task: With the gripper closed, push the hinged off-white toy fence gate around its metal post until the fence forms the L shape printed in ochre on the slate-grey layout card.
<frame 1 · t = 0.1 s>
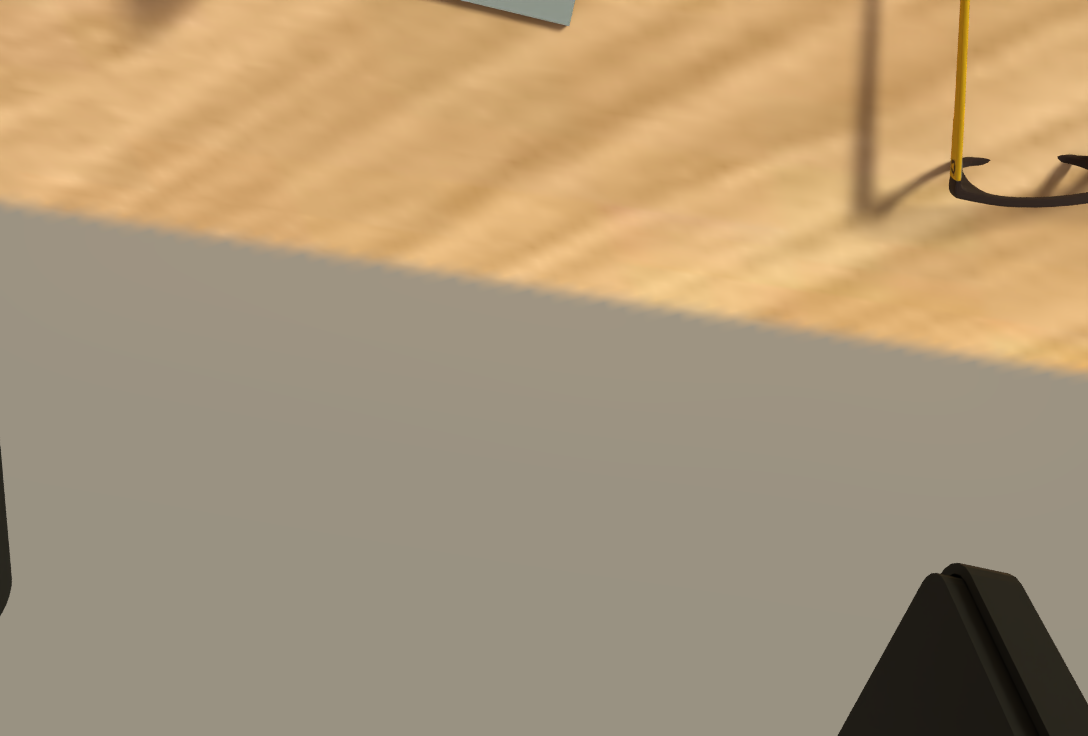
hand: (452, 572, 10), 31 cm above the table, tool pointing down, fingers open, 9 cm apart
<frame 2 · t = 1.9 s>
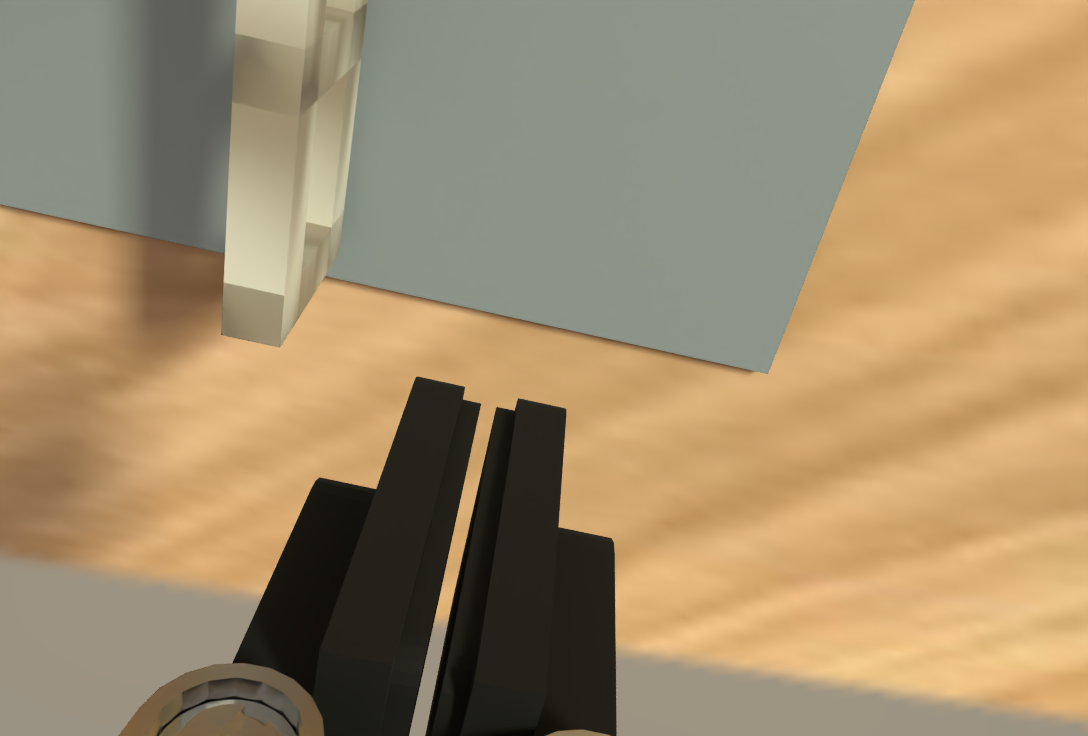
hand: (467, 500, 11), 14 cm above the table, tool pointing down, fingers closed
fence gate: (306, 47, 19), point 3 cm above the table, hinge at 0.0°
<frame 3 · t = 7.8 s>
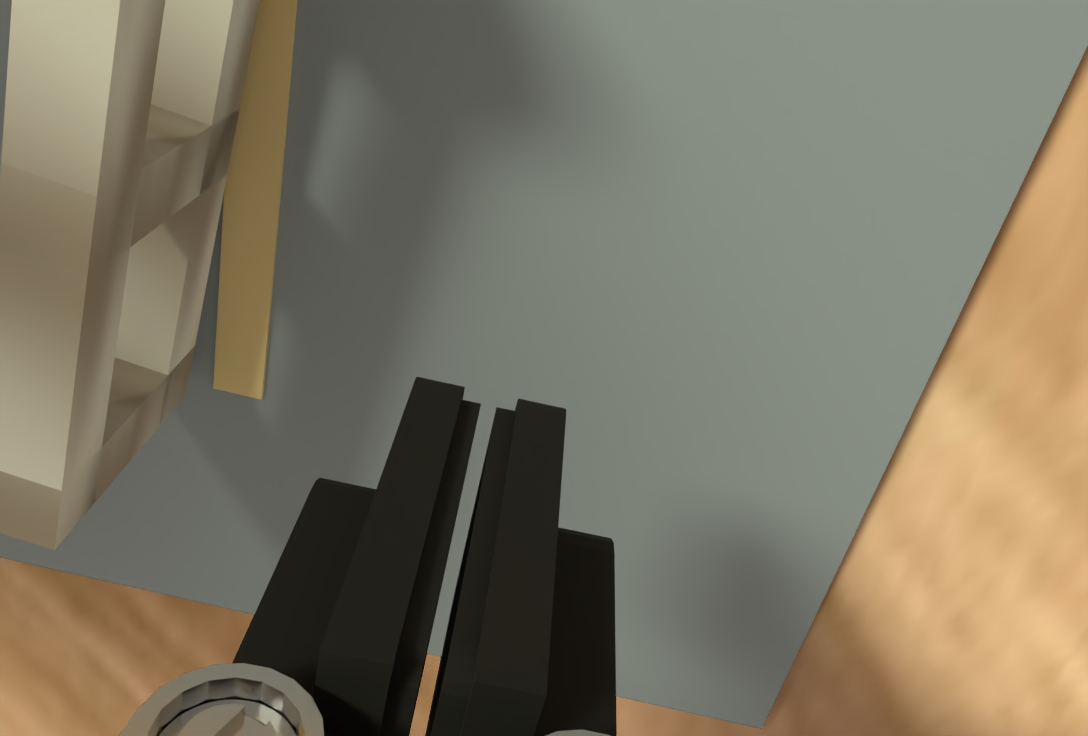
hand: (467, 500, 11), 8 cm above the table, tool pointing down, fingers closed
fence gate: (133, 169, 14), point 3 cm above the table, hinge at -97.0°
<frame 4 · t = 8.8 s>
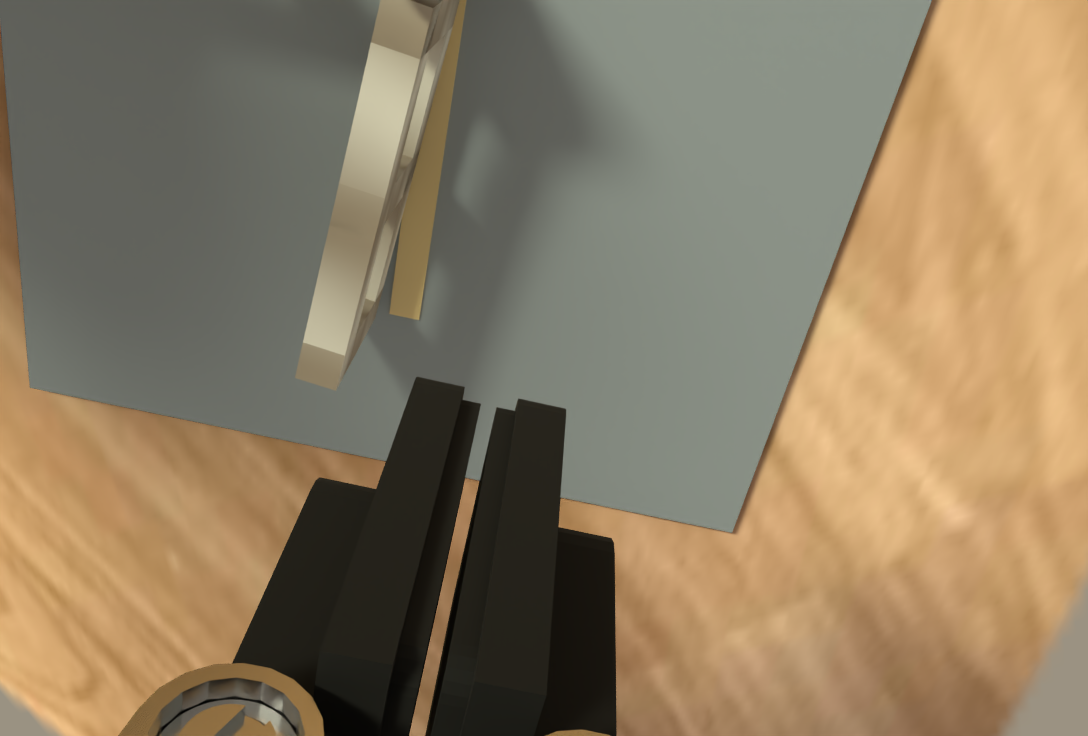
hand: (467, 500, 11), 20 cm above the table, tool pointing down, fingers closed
fence gate: (378, 183, 26), point 3 cm above the table, hinge at -97.0°
layout card: (445, 37, 28), on the table
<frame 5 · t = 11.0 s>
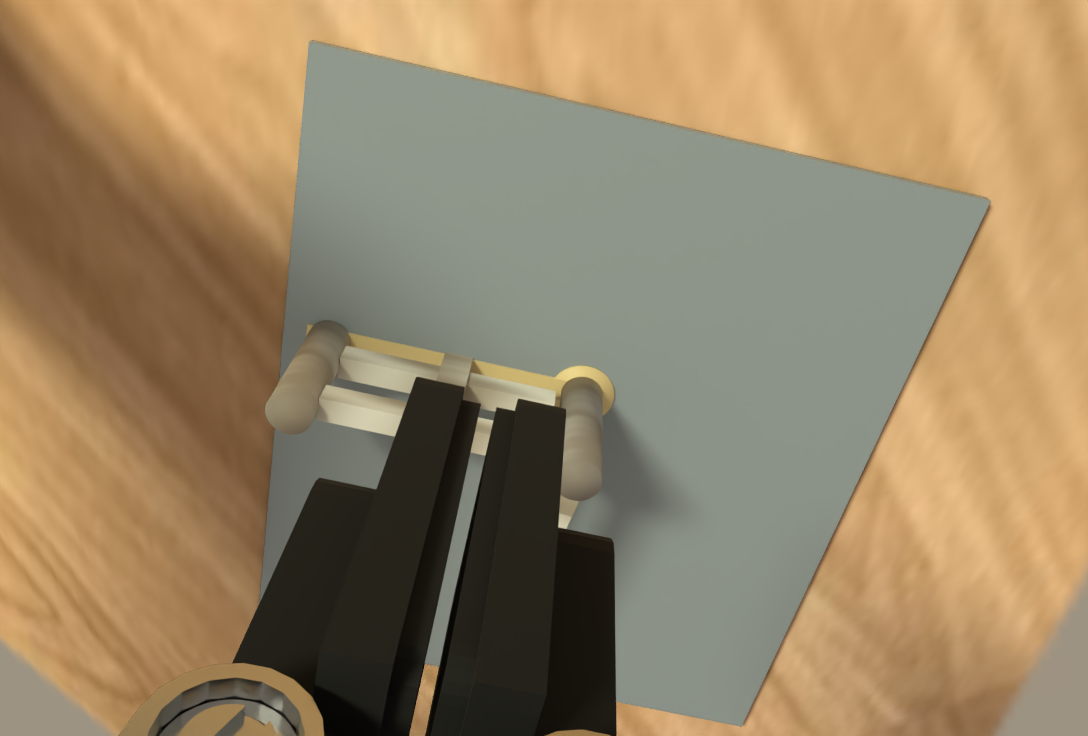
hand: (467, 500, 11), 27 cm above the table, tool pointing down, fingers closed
fence gate: (527, 549, 42), point 3 cm above the table, hinge at -97.0°
layout card: (566, 444, 43), on the table
fence section: (581, 393, 41), resting on layout card
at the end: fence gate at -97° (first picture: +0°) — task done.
